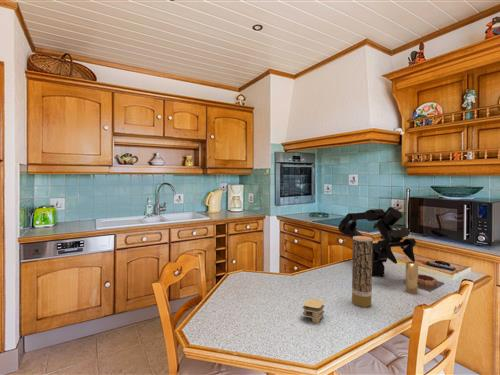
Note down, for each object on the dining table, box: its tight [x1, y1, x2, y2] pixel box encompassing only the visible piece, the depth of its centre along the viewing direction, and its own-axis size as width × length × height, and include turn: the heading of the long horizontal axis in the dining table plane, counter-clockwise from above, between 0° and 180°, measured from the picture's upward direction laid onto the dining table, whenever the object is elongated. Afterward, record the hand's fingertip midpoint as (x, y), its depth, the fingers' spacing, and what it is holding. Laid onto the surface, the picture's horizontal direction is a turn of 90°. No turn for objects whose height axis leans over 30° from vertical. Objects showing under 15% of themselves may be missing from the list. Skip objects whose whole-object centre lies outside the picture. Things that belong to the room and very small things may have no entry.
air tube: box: [404, 261, 419, 295], centre depth 111 cm, size 4×4×12 cm
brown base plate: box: [418, 273, 445, 292], centre depth 120 cm, size 14×10×3 cm
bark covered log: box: [351, 235, 373, 308], centre depth 101 cm, size 7×7×25 cm
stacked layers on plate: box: [302, 298, 325, 324], centre depth 91 cm, size 10×9×6 cm
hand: (405, 262), depth 114 cm, fingers open, 9 cm apart
